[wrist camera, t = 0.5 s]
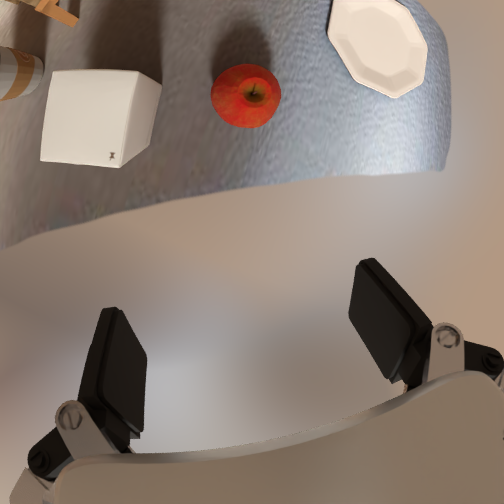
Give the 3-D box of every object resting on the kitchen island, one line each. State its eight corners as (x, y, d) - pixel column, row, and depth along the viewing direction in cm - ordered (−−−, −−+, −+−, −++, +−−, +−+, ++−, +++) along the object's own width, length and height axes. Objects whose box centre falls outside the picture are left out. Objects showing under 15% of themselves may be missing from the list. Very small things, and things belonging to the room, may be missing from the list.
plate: (412, 110, 37) (418, 111, 36) (316, 69, 32) (320, 68, 31) (424, 24, 28) (430, 23, 26) (334, -26, 23) (338, -29, 21)
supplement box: (164, 83, 29) (142, 69, 17) (150, 146, 33) (121, 171, 21) (102, 78, 27) (51, 68, 14) (91, 139, 31) (38, 163, 18)
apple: (267, 126, 35) (292, 134, 26) (207, 124, 34) (211, 130, 24) (271, 71, 31) (298, 60, 22) (211, 67, 29) (216, 52, 20)
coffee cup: (59, 65, 23) (-1, 56, 11) (28, 111, 25) (-35, 125, 13) (32, 42, 19) (-26, 31, 7) (3, 86, 21) (-58, 94, 9)
